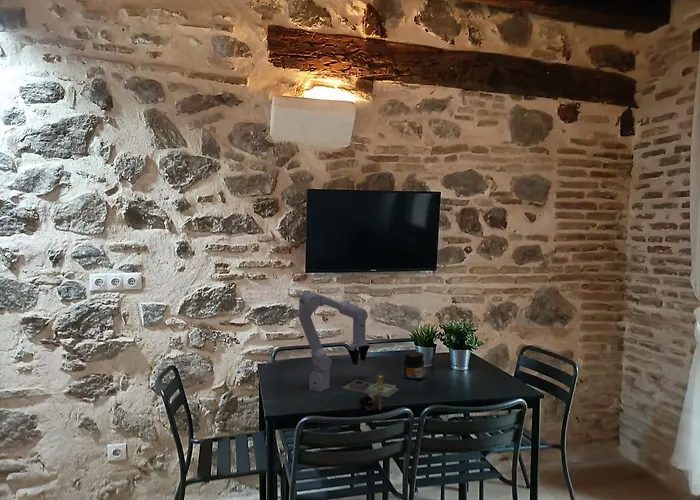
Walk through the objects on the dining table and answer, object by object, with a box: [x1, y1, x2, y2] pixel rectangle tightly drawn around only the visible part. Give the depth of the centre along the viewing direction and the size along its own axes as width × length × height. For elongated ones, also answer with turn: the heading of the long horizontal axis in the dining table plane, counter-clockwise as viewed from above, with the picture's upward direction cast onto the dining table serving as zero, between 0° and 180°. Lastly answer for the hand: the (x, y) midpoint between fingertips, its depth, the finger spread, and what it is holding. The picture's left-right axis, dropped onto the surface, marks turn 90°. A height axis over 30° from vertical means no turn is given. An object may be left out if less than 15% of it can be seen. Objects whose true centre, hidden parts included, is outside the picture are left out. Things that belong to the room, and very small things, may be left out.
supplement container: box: [402, 350, 425, 382], centre depth 244 cm, size 10×10×12 cm
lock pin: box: [376, 374, 385, 391], centre depth 225 cm, size 3×3×6 cm
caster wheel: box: [358, 392, 383, 412], centre depth 207 cm, size 7×11×10 cm
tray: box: [367, 382, 397, 397], centre depth 225 cm, size 10×9×1 cm
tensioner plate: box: [341, 379, 400, 398], centre depth 227 cm, size 12×23×1 cm, turn 60°
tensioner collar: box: [348, 379, 370, 389], centre depth 231 cm, size 7×7×1 cm
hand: (359, 362), depth 236 cm, fingers open, 7 cm apart
